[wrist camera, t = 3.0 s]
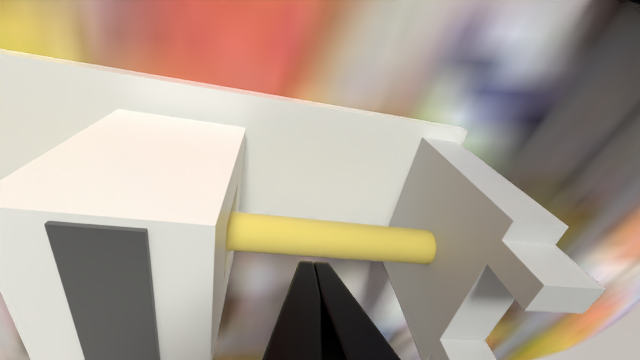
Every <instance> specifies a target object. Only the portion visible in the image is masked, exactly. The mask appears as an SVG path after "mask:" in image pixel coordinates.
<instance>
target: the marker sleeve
mask: <svg viewBox="0 0 640 360" xmlns="http://www.w3.org/2000/svg"><path fill="white" fill-rule="evenodd" d="M245 133H246V128H245V127H238V126H231V125H224V124H217V123H210V122H204V121H197V120H190V119H183V118H176V117H170V116H163V115H156V114H149V113H142V112H135V111H129V110H122V109H117V110H115V111H114V112H112V113H111V114H109V115H107V116H106V117H104V118H102V119H101V120H99V121H97V122H96V123H94V124H92V125H91V126H89V127H87V128H86V129H84V130H83V131H81V132H79V133H78V134H76V135H74V136H73V137H71V138H69V139H68V140H66V141H64V142H63V143H61V144H59V145H58V146H56V147H55V148H53V149H51V150H50V151H48V152H46V153H45V154H43V155H41V156H40V157H38V158H36V159H35V160H33V161H31V162H30V163H28V164H27V165H25V166H23V167H22V168H20V169H18V170H17V171H15V172H13V173H12V174H10V175H8V176H7V177H5V178H3V179H2V180H0V292H1V294H2V296H3V299H4V301H5V303H6V305H7V308H8V310H9V312H10V314H11V316H12V319H13V321H14V323H15V325H16V328H17V330H18V332H19V334H20V337H21V339H22V341H23V343H24V346H25V348H26V350H27V352H28V354H29V357H30V359H31V360H213V355H214V350H215V345H216V340H217V335H218V330H219V325H220V320H221V315H222V310H223V305H224V300H225V295H226V290H227V285H228V280H229V275H230V270H231V265H232V260H233V255H234V251H227V250H226V236H227V224H228V220H229V216H230V212H231V211H232V212H239V206H240V194H241V182H242V169H243V157H244V145H245Z"/></svg>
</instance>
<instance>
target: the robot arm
mask: <svg viewBox="0 0 640 360" xmlns="http://www.w3.org/2000/svg"><path fill="white" fill-rule="evenodd" d="M617 1H619V2H620V3H623V4H627V5H630V6H634V7H637V8H640V0H617ZM262 360H400V358H399V357H398V356H397V354H396V353H395V352H394V350H393V349H392V348H391V346H390V345H389V344H388V342H387V341H386V339H385V338H384V337H383V335H382V334H381V333H380V331H379V330H378V329H377V327H376V326H375V325H374V323H373V322H372V321H371V319H370V318H369V317H368V315H367V314H366V313H365V311H364V310H363V309H362V307H361V306H360V305H359V303H358V302H357V301H356V299H355V298H354V297H353V295H352V294H351V293H350V291H349V290H348V289H347V287H346V286H345V285H344V283H343V282H342V281H341V279H340V278H339V276H338V275H337V274H336V272H335V271H334V270H333V268H332V267H331V266H330V265H329V264H328V263H326V262H315V263H313V262H310V261H300V262H299V263H298V266H297V269H296V271H295V274H294V277H293V279H292V282H291V284H290V287H289V290H288V292H287V295H286V298H285V300H284V303H283V306H282V308H281V311H280V314H279V316H278V319H277V322H276V324H275V327H274V330H273V332H272V335H271V338H270V340H269V343H268V346H267V348H266V351H265V354H264V356H263V359H262Z"/></svg>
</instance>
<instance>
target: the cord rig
mask: <svg viewBox="0 0 640 360" xmlns="http://www.w3.org/2000/svg"><path fill="white" fill-rule="evenodd" d="M117 109H122V110H129V111H135V112H142V113H149V114H156V115H163V116H170V117H176V118H183V119H190V120H197V121H204V122H210V123H217V124H224V125H231V126H238V127H245V128H246V133H245V145H244V157H243V169H242V182H241V194H240V206H239V212H232V211H231V212H230V216H229V220H228V224H227V236H226V250H227V251H241V252H256V253H270V254H284V255H298V256H312V257H327V258H341V259H355V260H369V261H383V263H384V266H385V268H386V271H387V274H388V276H389V279H390V281H391V284H392V286H393V289H394V291H395V294H396V296H397V299H398V301H399V304H400V306H401V309H402V312H403V314H404V317H405V319H406V322H407V324H408V327H409V329H410V332H411V334H412V337H413V339H414V342H415V344H416V347H417V349H418V352H419V355H420V357H421V360H497V359H496V358H495V356H494V354H493V353H492V351H491V349H490V348H489V346H488V345H487V343H486V341H485V339H486V338H487V337H488V335H489V334H490V333H491V331H492V330H493V328H494V327H495V326H496V324H497V323H498V322H499V320H500V319H501V318H502V316H503V315H504V314H505V312H506V311H507V310H508V308H509V307H510V306H511V304H512V303H513V301H514V300H516V301H517V302H518V303H519V305H520V306H521V307H522V308H523V310H524V311H539V312H563V313H584V312H585V311H586V310H587V309H588V308H589V307H590V306H591V305H592V304H593V303H594V302H595V301H596V299H597V298H598V297H599V296H600V295H601V294H602V293H603V292H604V291H605V290H606V289H605V288H604V287H603V286H602V285H601V284H599V283H598V282H597V281H596V280H595V279H594V278H592V277H591V276H590V275H589V274H588V273H587V272H586V271H584V270H583V269H582V268H581V267H580V266H579V265H578V264H576V263H575V262H574V261H573V260H572V259H571V258H569V257H568V256H567V255H566V254H565V253H564V252H563V251H561V250H560V249H559V248H558V247H557V246H556V243H557V242H558V241H559V239H560V238H561V237H562V235H563V234H564V233H565V231H566V230H567V229H568V227H569V226H567V225H566V224H565V223H563V222H562V221H561V220H559V219H558V218H557V217H555V216H554V215H553V214H551V213H550V212H549V211H548V210H546V209H545V208H544V207H542V206H541V205H540V204H538V203H537V202H536V201H534V200H533V199H532V198H530V197H529V196H528V195H527V194H525V193H524V192H523V191H521V190H520V189H519V188H517V187H516V186H515V185H513V184H512V183H511V182H509V181H508V180H507V179H506V178H504V177H503V176H502V175H500V174H499V173H498V172H496V171H495V170H494V169H492V168H491V167H490V166H488V165H487V164H486V163H485V162H483V161H482V160H481V159H479V158H478V157H477V156H475V155H474V154H473V153H471V152H470V151H469V150H467V149H466V148H465V147H464V146H462V144H463V142H464V140H465V137H466V135H467V133H468V131H466V130H465V129H463V128H462V127H460V126H454V125H448V124H442V123H436V122H430V121H425V120H419V119H413V118H407V117H401V116H395V115H389V114H383V113H377V112H372V111H366V110H360V109H354V108H348V107H342V106H336V105H330V104H324V103H319V102H313V101H307V100H301V99H295V98H289V97H283V96H277V95H271V94H266V93H260V92H254V91H248V90H242V89H236V88H230V87H224V86H218V85H213V84H207V83H201V82H195V81H189V80H183V79H177V78H171V77H165V76H159V75H154V74H148V73H142V72H136V71H130V70H124V69H118V68H112V67H106V66H101V65H95V64H89V63H83V62H77V61H71V60H65V59H59V58H53V57H48V56H42V55H36V54H30V53H24V52H18V51H12V50H6V49H0V180H2V179H3V178H5V177H7V176H8V175H10V174H12V173H13V172H15V171H17V170H18V169H20V168H22V167H23V166H25V165H27V164H28V163H30V162H31V161H33V160H35V159H36V158H38V157H40V156H41V155H43V154H45V153H46V152H48V151H50V150H51V149H53V148H55V147H56V146H58V145H59V144H61V143H63V142H64V141H66V140H68V139H69V138H71V137H73V136H74V135H76V134H78V133H79V132H81V131H83V130H84V129H86V128H87V127H89V126H91V125H92V124H94V123H96V122H97V121H99V120H101V119H102V118H104V117H106V116H107V115H109V114H111V113H112V112H114V111H115V110H117Z"/></svg>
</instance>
